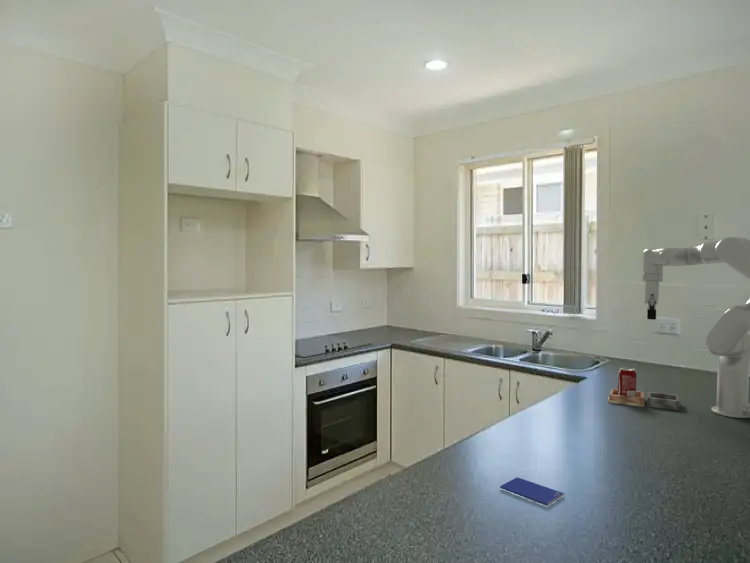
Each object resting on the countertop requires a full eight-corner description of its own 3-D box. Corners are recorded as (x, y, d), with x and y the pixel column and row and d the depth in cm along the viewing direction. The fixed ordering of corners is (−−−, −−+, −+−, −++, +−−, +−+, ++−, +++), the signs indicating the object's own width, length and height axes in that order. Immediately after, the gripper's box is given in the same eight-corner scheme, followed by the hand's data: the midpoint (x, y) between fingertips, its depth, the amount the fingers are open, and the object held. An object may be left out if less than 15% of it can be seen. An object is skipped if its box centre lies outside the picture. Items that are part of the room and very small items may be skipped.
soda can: (638, 400, 202) (639, 370, 201) (620, 400, 202) (622, 370, 202) (631, 396, 208) (632, 367, 208) (614, 395, 209) (615, 366, 208)
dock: (677, 402, 202) (678, 394, 202) (679, 411, 191) (679, 402, 191) (609, 395, 214) (610, 386, 214) (607, 402, 203) (607, 393, 203)
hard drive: (564, 492, 120) (517, 476, 129) (547, 503, 115) (499, 485, 124) (564, 498, 120) (517, 482, 129) (547, 510, 115) (499, 492, 124)
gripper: (642, 277, 224) (641, 316, 225) (642, 278, 209) (641, 319, 210) (662, 277, 221) (661, 316, 221) (663, 278, 205) (662, 320, 206)
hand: (651, 318), depth 216 cm, fingers open, 9 cm apart
